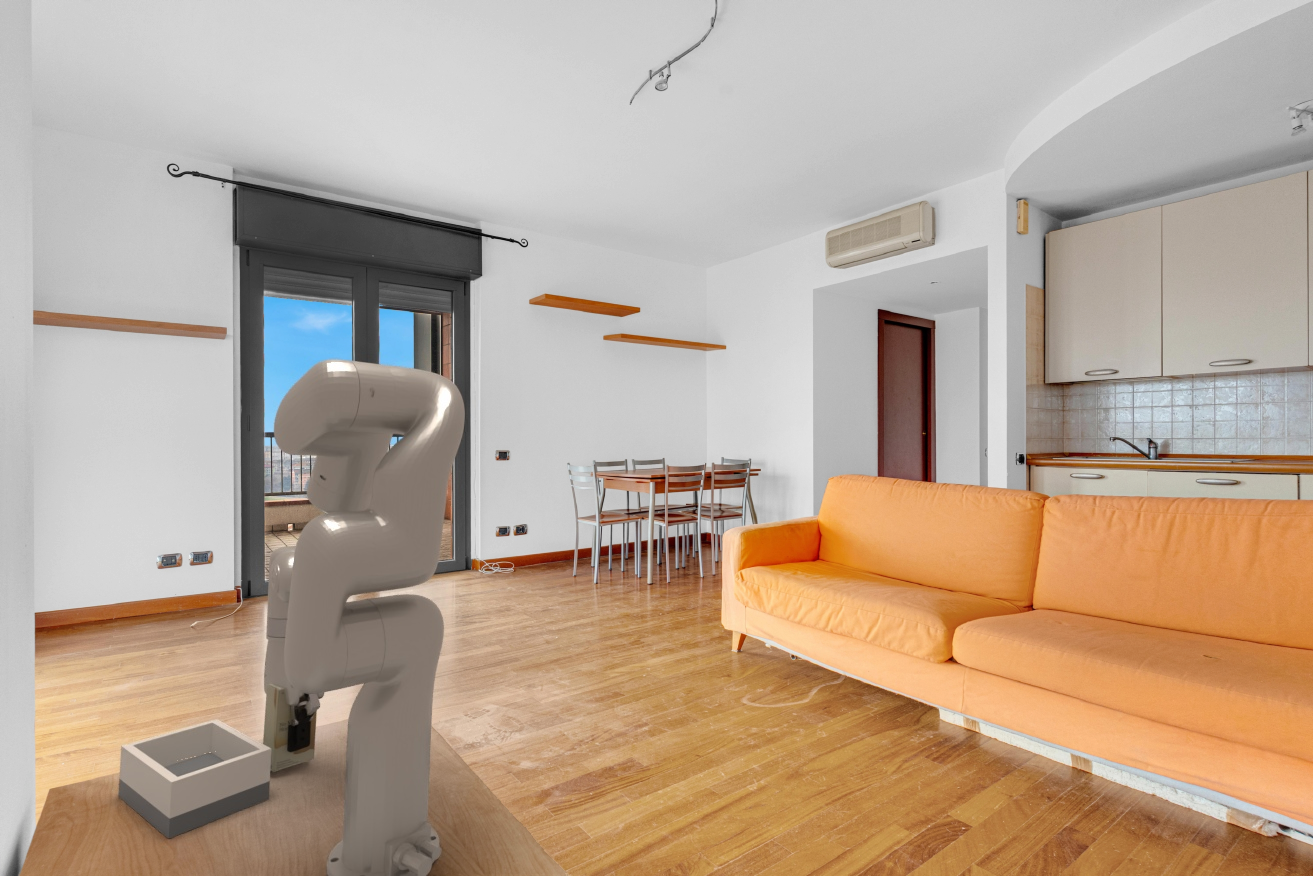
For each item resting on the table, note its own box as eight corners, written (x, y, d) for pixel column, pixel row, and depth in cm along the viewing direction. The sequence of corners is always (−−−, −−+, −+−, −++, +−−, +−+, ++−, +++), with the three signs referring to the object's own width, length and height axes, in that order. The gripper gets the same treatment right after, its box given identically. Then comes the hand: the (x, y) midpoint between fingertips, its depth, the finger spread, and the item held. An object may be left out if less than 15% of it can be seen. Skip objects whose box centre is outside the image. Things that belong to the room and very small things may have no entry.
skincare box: (273, 773, 97) (276, 690, 98) (260, 765, 100) (264, 684, 100) (316, 758, 102) (320, 679, 103) (304, 751, 105) (307, 674, 105)
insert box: (268, 799, 91) (271, 748, 92) (168, 839, 81) (171, 782, 82) (214, 764, 101) (216, 719, 101) (118, 796, 91) (121, 746, 91)
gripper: (347, 629, 100) (343, 750, 99) (291, 614, 110) (286, 724, 109) (298, 639, 94) (293, 768, 93) (242, 622, 103) (237, 740, 102)
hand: (289, 743), depth 101 cm, fingers closed on skincare box, 4 cm apart
